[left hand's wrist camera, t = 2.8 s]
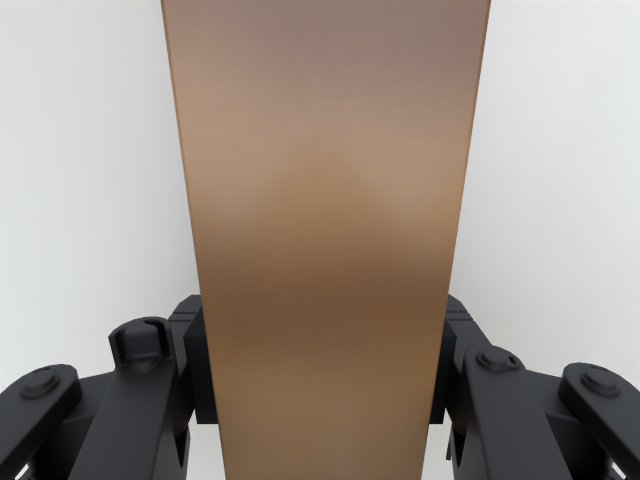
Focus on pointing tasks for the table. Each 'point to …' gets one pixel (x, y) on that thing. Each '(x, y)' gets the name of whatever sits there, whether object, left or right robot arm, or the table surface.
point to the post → (324, 219)
